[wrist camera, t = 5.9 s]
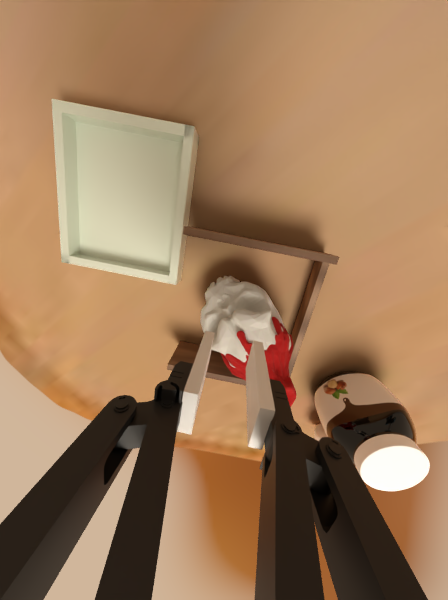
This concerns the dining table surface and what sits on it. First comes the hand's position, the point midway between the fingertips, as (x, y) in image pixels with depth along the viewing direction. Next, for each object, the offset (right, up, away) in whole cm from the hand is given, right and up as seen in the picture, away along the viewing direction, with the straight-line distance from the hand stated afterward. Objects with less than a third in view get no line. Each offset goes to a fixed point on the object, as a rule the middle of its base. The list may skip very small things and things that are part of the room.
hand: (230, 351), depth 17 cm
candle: (+1, +4, +13) cm, 14 cm away
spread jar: (+18, -12, +17) cm, 28 cm away
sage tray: (-12, +16, +10) cm, 23 cm away
